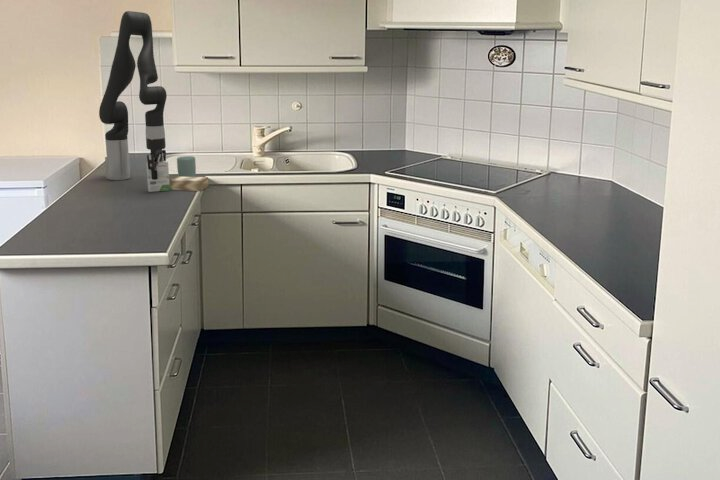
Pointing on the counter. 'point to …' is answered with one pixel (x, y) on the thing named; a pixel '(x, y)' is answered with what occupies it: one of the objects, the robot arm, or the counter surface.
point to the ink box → (159, 178)
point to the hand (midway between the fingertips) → (158, 177)
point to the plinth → (189, 183)
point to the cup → (186, 166)
